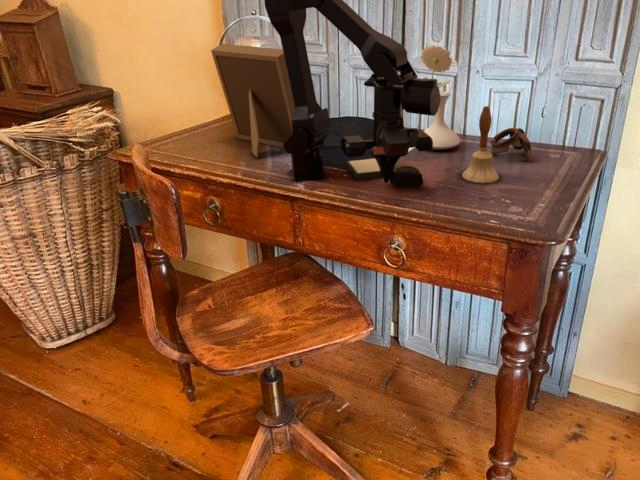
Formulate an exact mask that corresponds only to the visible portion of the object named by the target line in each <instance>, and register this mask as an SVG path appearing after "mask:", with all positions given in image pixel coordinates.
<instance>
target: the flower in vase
mask: <svg viewBox="0 0 640 480" xmlns="http://www.w3.org/2000/svg"><path fill="white" fill-rule="evenodd" d="M442 47H443V46H441V45H439V46H437V45H436V44H433V45H430V44H429V45H428V46H427V47H424V48H423V49H422V52H421V55H420V59H421V60H422V63H423V64H424V65H425V67H426V68H427V69H429V71H430V70H431V71H432V73H431V79H434V73H436V72H437V73H442V72H446V71H450V69H451V68H450V67H452V64H453V59H452V57H451V54H450V52H448V50H447V49H443V48H442ZM422 79H430V78H429V77H427V76H425V77H422ZM451 81H452V79H450V80H448V81H444V82H442V83H440V85H439V86H438V87H439V89H440V88H443V87H445V86H447V85H448V84H449V83H450V82H451ZM439 91H440V90H439ZM440 95H441V99H440V105H439V109H438V112H437V113H436V115H435V116H434V121H433V122H432V124H430V125H429V126H428V127H427V128H426V129H424V130H423V131H424V132H425V133H426V134H428V135H429V136H430V137H431V138H432V140H433V150H439V151H441V150H442V151H443V150H448V149H449V150H451V149H452V148H455V147H457V146H459V144H460V143H461V138H460V137H459V135H458V134H457V133H456V132H455V131H454V130H453V129H452V128H450V127H449V126H448V125H447V123H446V121H445V109H446V104H447V102H448V99H449V97H450V96H451V95H452V93H451V92H450V91H446V90H445V91H444V90H443V91H442V90H441V91H440Z"/></svg>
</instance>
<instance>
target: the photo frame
mask: <svg viewBox="0 0 640 480" xmlns="http://www.w3.org/2000/svg"><path fill="white" fill-rule="evenodd" d="M210 52H211V55H212V59H213V62H214V65H215V69H216V72H217V74H218V78H219V82H220V85H221V88H222V92H223V94H224V98H225V101H226V104H227V107H228V110H229V114H230V117H231V120H232V121H231V122H232V125H233V127H234V130H235V134H236V138H237V139H238V140H244V141H248V142H251V151H252V152H251V153H252V154H253V156H255V157H256V158H260V144H265V145H268V146H274V147H280V148H284V145H283V144H284V143H285V142H286V141H287V140H288V138H289V137H290V136H291V135H292V134H293V133H292V117H293V112H294V107H295V106H294V100H293V95H292V90H291V86H290V81H289V76H288V71H287V66H286V62H285V57H284V52H283V48H273V47H263V46H261V47H260V46H252V45H251V46H249V45H240V44H228V43H221V44H220V45H217V46H215V47H214V48H212V49H210Z"/></svg>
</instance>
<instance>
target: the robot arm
mask: <svg viewBox="0 0 640 480" xmlns="http://www.w3.org/2000/svg"><path fill="white" fill-rule="evenodd" d="M263 3H264V8H265V11H266V13H267V16H268V19H269V22H270V24H271V25H272V27H273V29H274V30H275V31H276V33H277V34H278V35H279V38H280V42H281V48H282V49H283V52H284V57H285V62H286V66H287V71H288V76H289V81H290V86H291V90H292V95H293V100H294V106H295V107H294V112H293V117H292V133H293V134H292V135H291V136H290V137H289V138H288V140H287V141H286V142H285V143H284V144H283V145H284V147H283V148H284V150H285V154H289V155H290V161H291V162H290V163H291V169H290V174H291V176H292V177H293V180H294V181H305V180H314V179H322V178H323V173H324V166H323V165H324V164H323V163H324V162H323V155H322V154H321V151H320V150H321V149H320V148H319V147H322V146H324V142H325V140H326V139H327V138H328V136H329V135H330V130H331V129H330V128H331V127H332V123H331V121H330V118H329V109H328V108H327V107H325V108H322V107H321V106H320V104H319V102H318V101H317V97H316V92H315V87H314V86H315V85H314V82H313V76H312V71H311V66H310V60H309V56H308V55H309V54H308V49H307V45H306V40H305V35H304V30H305V25H306V21H307V9H311V8H314V9H316V10H317V11H318V12H319V13H320V14H321V15H322V16H323V17H324V18H325V19H326V20H327V21H329V22H330V23H331V24H332V25H333V26H334V27H335V28H336V29H337V30H338V31H339V32H340V33H342V34H343V35H344V36H345V37H346V38H347V39H348V40H349V41H350V42H351V43H352V44H353V45H354V46H355V47H356V48H357V49H358V50H359V52H360V55H361V58H362V59H363V61H364V63H365V64H366V65H367V67H368V68H369V69H370V71H371V72H372V73H371V75H370V76H369V78H368V79H367V80H365V81H364V82H363V85H364V87H372V88H373V111H372V118H373V131H372V132H371V134H372V135H371V137H372V138H373V139H366V140H365V139H363V138H362V137H361V136H360V135H349V136H343V137H342V138H341V140H340V150H341V151H342V153H343V154H344V155H345V157H347V158H355V157H358V158H359V157H363V156H364V155H365V154H366V152H367V153H368V154H369V155H370V156H371V157H372V159H376V161H377V163H378V166H379V169H380V172H381V175H382V177H381V178H382V181H383V182H384V184H388V183H389V182H390V181H389V179H390V176H391V174H392V171H393V169H394V167H396V165H397V164H398V163H397V162H398V161H399V160H400V159H401V158H403V157H406V156H407V155H408V154H409V150H410V149H412V148H413V149H416V150H417V151H418V152H420V153H421V152H431V151H433V150H434V149H433V140H432V138H431V137H430V136H429V135H428V134H426V133H425V132H424V130H418V128H405V126H404V125H405V124H404V117H403V116H402V114H403V110H404V111H405V112H406V113H407V114H416V115H422V116H430V117H435V115H436V113H437V112H438V109H439V105H440V99H441V95H440V88H439V86H438V79H437V78H433V79H432V78H429V79H423V78H419V77H418V74H417V73H416V71H415V69H414V68H413V66H412V64H411V62H410V61H409V59H408V51H407V50H406V48H405V46H404V45H403V44H401V43H400V42H398V41H396V40H395V39H393V38H392V37H390V36H388V35H386V34H383V33H382V32H379V31H377V30H375V28H373V27H372V26H371V25H370V24H369V23H368V22H367V21H366V20H364V19H363V17H362V16H361V15H359V14H358V12H356V11H355V10H354V9H353V8H352V7H350V6H349V5H348V3H346V2H345V1H344V0H264V2H263ZM399 73H400V74H399Z"/></svg>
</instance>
